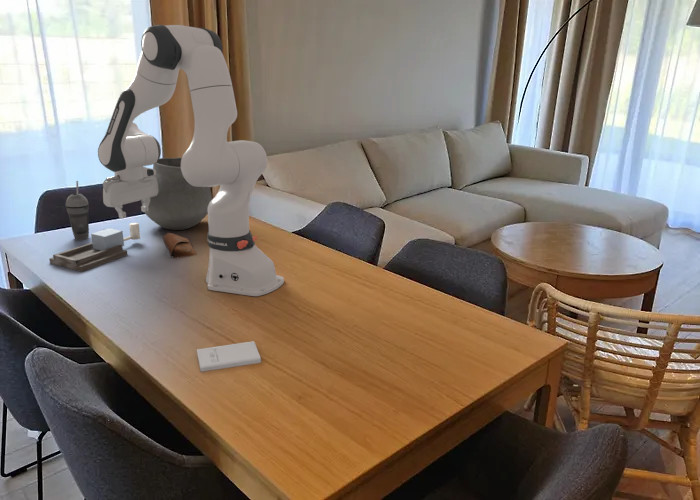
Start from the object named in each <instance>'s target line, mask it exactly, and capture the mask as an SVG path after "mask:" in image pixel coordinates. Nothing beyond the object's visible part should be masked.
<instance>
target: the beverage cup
mask: <svg viewBox="0 0 700 500" xmlns="http://www.w3.org/2000/svg"><path fill="white" fill-rule="evenodd" d="M75 181H76V182H75V183H76V193H72V194H70V195H69V196H68V197H67V198H66V201H65V210H66V212H67V214H68V217H69V222H70V226H71V227H70V228H71V229H72V234H73V237H74V240H75V241H77V240H78V241H81V240H87V239H89V238H90V227H89V226H90V225H89V206H90V204H89V201H88V198H86V196H84V195H83V194H82V193H79V181H78V180H75Z"/></svg>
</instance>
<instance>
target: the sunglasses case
mask: <svg viewBox="0 0 700 500" xmlns="http://www.w3.org/2000/svg"><path fill="white" fill-rule="evenodd" d="M162 240H163V242H164V245H165V246H166V247H167V248H166V249H167V250H168V252H169V254H170V256H171V257H172V258H173V259H177V257H178V258H184V257H191V256H197V255H198V253H197V252H196V250H195V249H194V247H193V246H192V243H191V242H190V240H189V238H187V237H182V236H180V235H178V234H176V233H171V232H166V233H165V234H164V235H163V237H162Z"/></svg>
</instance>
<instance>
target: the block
mask: <svg viewBox="0 0 700 500" xmlns="http://www.w3.org/2000/svg"><path fill="white" fill-rule="evenodd" d="M140 232H141V231H140V223H139V222H131V223H129V236H127V237H124V233H123V230H120V229H115V228H110V227H108V228H105V229H103V230H99V231H95V232H92V233H91V234H90V235H91V243H92V244H93V249H96V250H100V251H102V250H105V249H108V248H111V247H114V246H117V245H122V247H125V242H126V241H129V240H140V239H141V233H140Z"/></svg>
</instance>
